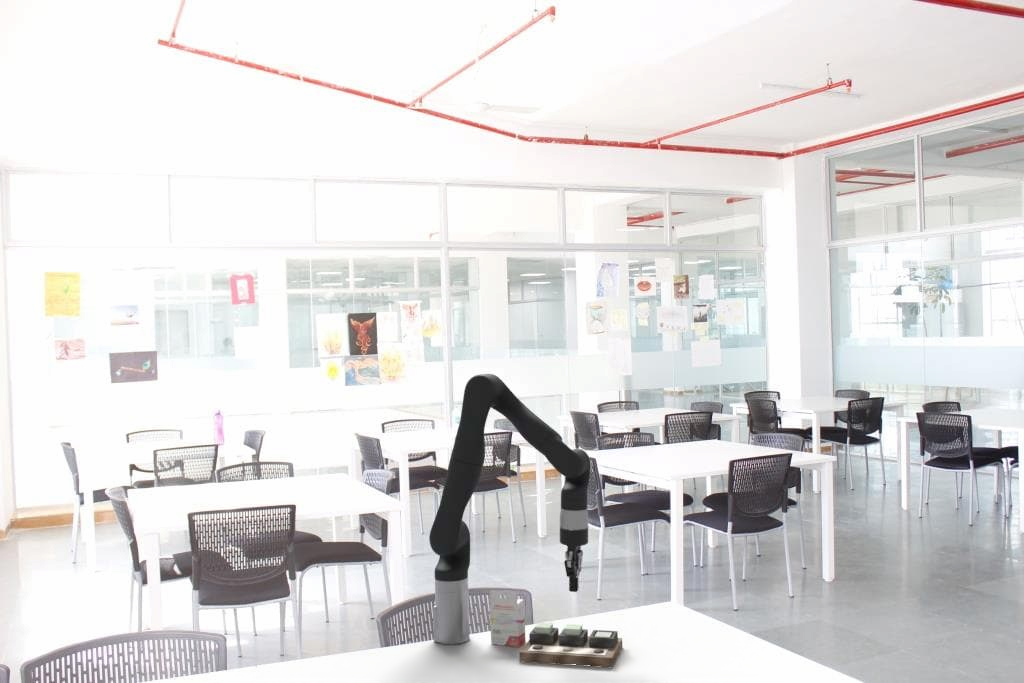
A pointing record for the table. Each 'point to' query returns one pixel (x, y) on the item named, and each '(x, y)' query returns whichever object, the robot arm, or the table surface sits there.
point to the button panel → (572, 648)
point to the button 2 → (603, 634)
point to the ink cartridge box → (507, 619)
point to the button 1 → (544, 628)
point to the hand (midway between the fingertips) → (573, 591)
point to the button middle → (573, 630)
